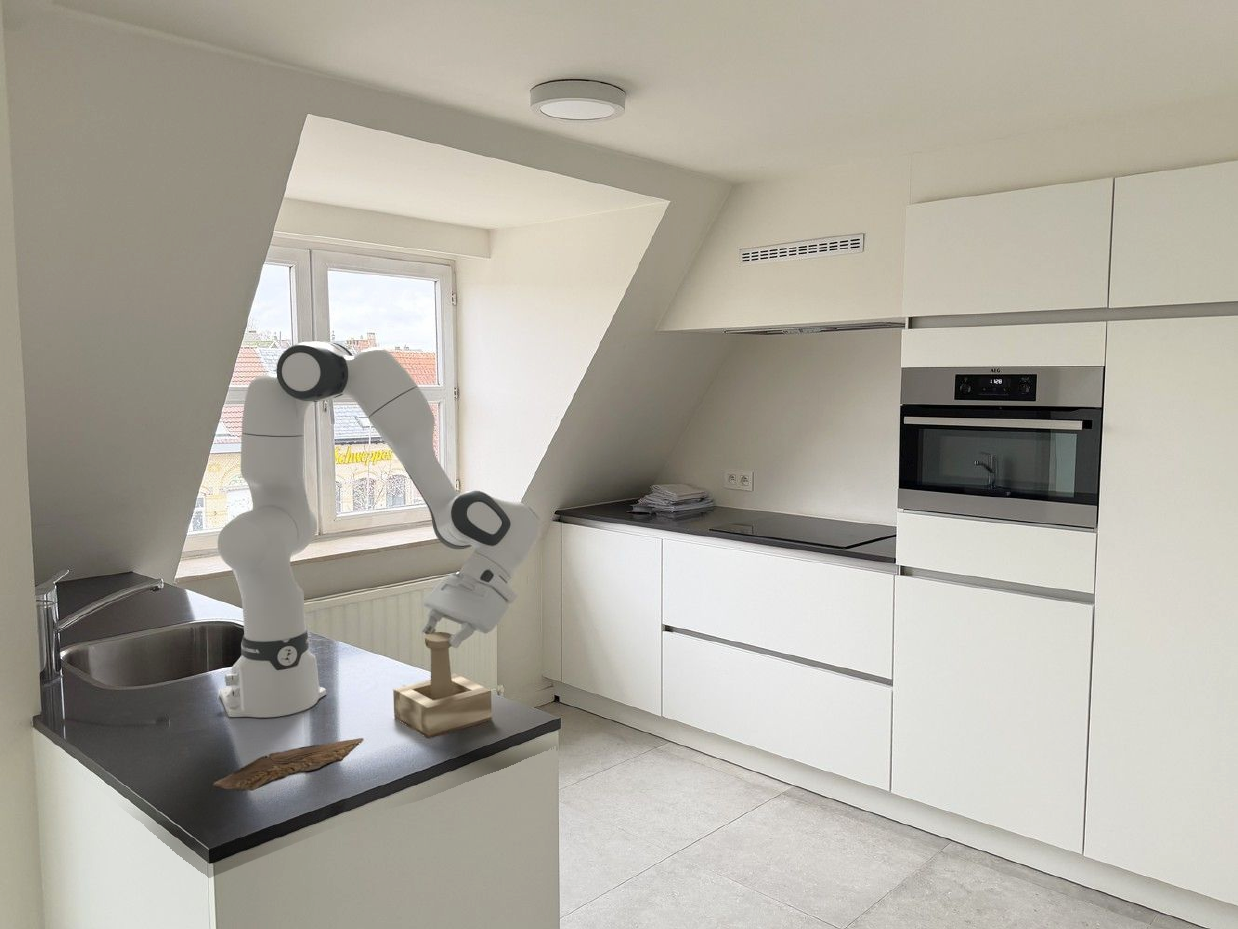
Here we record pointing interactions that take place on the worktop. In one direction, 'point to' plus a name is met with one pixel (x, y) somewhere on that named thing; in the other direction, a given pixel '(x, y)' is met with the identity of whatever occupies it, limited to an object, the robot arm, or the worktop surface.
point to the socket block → (442, 707)
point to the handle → (439, 664)
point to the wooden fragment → (286, 764)
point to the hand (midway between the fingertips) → (438, 640)
